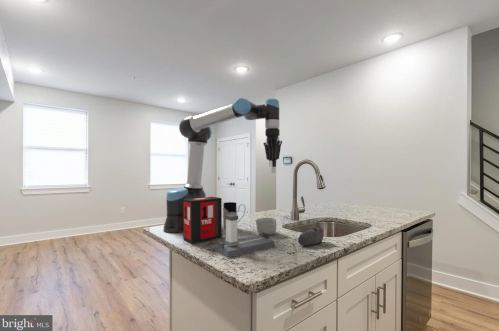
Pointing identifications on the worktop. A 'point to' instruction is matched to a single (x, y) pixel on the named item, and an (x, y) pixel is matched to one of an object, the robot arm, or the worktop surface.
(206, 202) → the cleaning product box
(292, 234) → the worktop surface
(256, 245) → the fader console
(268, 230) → the teacup
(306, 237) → the perforated stone tool
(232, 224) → the fader knob
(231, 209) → the glass holder
